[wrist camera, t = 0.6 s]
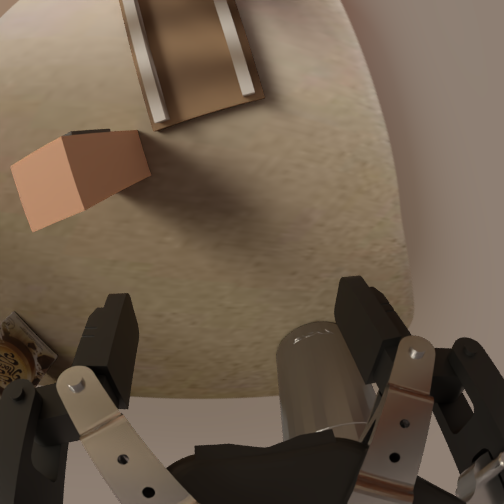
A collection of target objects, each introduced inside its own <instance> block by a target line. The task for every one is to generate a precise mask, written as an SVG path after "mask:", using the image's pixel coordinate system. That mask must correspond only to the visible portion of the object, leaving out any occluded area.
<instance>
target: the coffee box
mask: <svg viewBox="0 0 504 504" xmlns="http://www.w3.org/2000/svg"><path fill="white" fill-rule="evenodd" d="M56 358H57V355H56V354H55V353H54V352H53V351H52V350H51V349H50V348H49V347H48V346H47V345H46V344H45V343H44V342H43V341H42V340H41V339H40V338H39V337H38V336H37V335H36V334H35V333H34V332H33V331H32V330H31V329H30V328H29V327H28V326H27V325H26V324H25V323H24V321H23V320H22V319H21V318H20V317H19V316H18V315H17V314H16V313H15V312H14V311H13V312H12V313H11V314H10V315H9V316H8V317H7V318H6V319H5V320H4V321H3V322H2V323H1V324H0V399H1V396H2V393H3V390H4V389H5V387H6V386H7V385H8V384H9V383H11V382H12V381H14V380H17V379H27V380H29V381H30V382H31V383H32V384H33V385H34V387H36V386H37V385H38V383H39V382H40V380H41V379H42V377H43V376H44V375H45V373H46V372H47V370H48V369H49V368H50V366H51V365H52V364H53V362H54V361H55V360H56Z"/></svg>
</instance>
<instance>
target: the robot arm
mask: <svg viewBox="0 0 504 504" xmlns="http://www.w3.org/2000/svg"><path fill="white" fill-rule="evenodd" d="M334 315H335V321H336V324H335V323H330V322H315V323H309V324H306V325H303V326H300V327H299V328H297V329H295V330H293V331H292V332H291V333H289V334H288V335H287V336H286V337H285V338H284V339H283V340H282V342H281V343H280V345H279V347H278V350H277V354H276V359H277V372H278V385H279V397H280V408H281V420H282V432H283V442H281V443H278V444H276V445H273V446H271V447H266V448H261V447H252V446H242V445H234V444H219V445H201V446H200V445H199V446H195V454H194V455H190V456H187V457H185V458H182V459H180V460H178V461H176V462H175V463H173V464H171V465H170V466H169V467H167V468H165V467H164V466H163V464H162V463H161V462H160V461H159V460H158V459H157V457H156V456H155V455H154V454H153V453H152V451H151V450H150V449H149V448H148V446H147V445H146V444H145V443H144V441H143V440H142V439H141V438H140V436H139V435H138V434H137V433H136V431H135V430H134V428H133V427H132V426H131V425H130V423H129V422H128V420H127V419H126V418H125V416H123V414H122V413H120V412H119V410H118V409H128V406H129V398H130V391H131V384H132V378H133V371H134V365H135V359H136V353H137V347H138V341H139V329H138V323H137V320H136V316H135V313H134V309H133V305H132V302H131V298H130V295H129V294H128V293H121V294H109V295H108V297H107V300H106V303H105V305H104V308H97V309H96V310H95V311H94V312H93V313H92V314H91V315H90V316H89V318H88V321H87V323H86V326H85V329H84V332H83V334H82V337H81V340H80V343H79V346H78V349H77V352H76V355H75V358H74V361H73V364H72V367H70V368H68V369H66V370H65V371H64V372H62V374H61V375H60V376H59V378H58V380H57V382H56V383H54V384H50V385H46V386H41V387H37V388H35V387H34V385H33V384H32V383H31V382H30V381H29V380H27V379H17V380H14V381H12V382H11V383H9V384H8V385H7V386H6V387H5V389H4V390H3V393H2V396H1V399H0V504H63V493H64V480H65V469H66V460H67V451H68V444H69V442H73V441H78V440H80V441H81V443H82V444H83V446H84V448H85V450H86V451H87V453H88V455H89V456H90V458H91V460H92V461H93V463H94V465H95V466H96V468H97V469H98V471H99V472H100V474H101V475H102V477H103V479H104V480H105V481H106V483H107V484H108V486H109V487H110V489H111V490H112V492H113V493H114V495H115V496H116V497H117V498H118V500H119V501H120V503H121V504H504V379H503V377H502V376H501V374H500V372H499V371H498V369H497V368H496V366H495V365H494V363H493V362H492V360H491V359H490V357H489V356H488V354H487V353H486V352H485V350H484V349H483V347H482V346H481V345H480V344H479V343H478V342H477V341H475V340H473V339H471V338H459V339H458V340H456V341H455V343H454V345H453V347H452V349H449V348H434V347H433V345H432V344H431V343H430V342H429V341H428V340H426V339H425V338H422V337H419V336H412V335H411V334H410V332H409V331H408V329H407V328H406V326H405V325H404V323H403V322H402V320H401V319H400V317H399V316H398V314H397V313H396V312H395V311H394V309H393V307H392V306H391V304H389V302H388V300H387V299H386V297H385V296H384V295H383V293H381V292H380V291H378V290H377V289H376V288H374V287H369V286H368V285H367V284H366V282H365V281H364V279H363V278H362V277H361V276H349V277H342V278H341V279H340V282H339V287H338V293H337V298H336V303H335V309H334ZM371 383H376V384H377V386H378V388H379V391H378V393H377V395H376V394H375V392H374V389H373V386H372V384H371ZM464 389H465V390H466V392H467V394H468V396H469V398H470V399H471V401H472V403H473V406H474V413H473V411H472V409H471V408H470V406H469V404H468V402H467V400H466V398H465V397H464V395H463V393H462V392H463V390H464ZM432 411H433V413H434V415H435V417H436V420H437V422H438V424H439V426H440V428H441V431H442V433H443V435H444V437H445V440H446V442H447V444H448V447H449V449H450V451H451V453H452V456H453V458H454V461H455V463H456V466H457V468H458V470H459V473H460V477H459V479H458V483H457V489H456V496H457V497H456V496H454V495H453V494H451V493H449V492H447V491H445V490H443V489H441V488H439V487H437V486H436V485H434V484H432V483H430V482H428V481H426V480H424V479H423V478H421V477H419V476H418V475H417V474H418V470H419V467H420V463H421V459H422V456H423V452H424V447H425V443H426V439H427V435H428V430H429V425H430V420H431V415H432Z"/></svg>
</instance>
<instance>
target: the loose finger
mask: <svg viewBox="0 0 504 504" xmlns="http://www.w3.org/2000/svg"><path fill="white" fill-rule="evenodd" d="M10 167H11V170H12V173H13V177H14V180H15V183H16V187H17V190H18V193H19V196H20V199H21V202H22V205H23V208H24V211H25V213H26V216H27V219H28V222H29V224H30V227H31V230H32V232H35V231H37V230H39V229H42V228H44V227H46V226H48V225H51V224H53V223H55V222H58V221H60V220H63V219H65V218H67V217H70V216H72V215H75V214H77V213H80V212H82V211H85V210H87V209H88V208H90V207H92V206H94V205H95V204H97V203H99V202H101V201H103V200H104V199H106V198H108V197H110V196H112V195H114V194H116V193H118V192H119V191H121V190H123V189H125V188H127V187H129V186H131V185H133V184H135V183H137V182H139V181H141V180H143V179H145V178H147V177H149V176H151V173H150V170H149V167H148V163H147V160H146V157H145V154H144V151H143V147H142V144H141V141H140V137H139V134H138V131H137V130H131V131H114V132H110V129H98V130H84V131H71V132H69V133H67V134H65V135H63V136H61V137H59V138H57V139H55V140H54V141H52V142H50V143H48V144H47V145H45V146H43V147H41V148H40V149H38V150H36V151H34V152H33V153H31V154H29V155H28V156H26V157H25V158H23V159H21V160H20V161H18V162H17V163H15V164H13V165H12V166H10Z"/></svg>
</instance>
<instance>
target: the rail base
mask: <svg viewBox="0 0 504 504" xmlns="http://www.w3.org/2000/svg"><path fill="white" fill-rule="evenodd" d="M119 2H120V7H121V11H122V16H123V20H124V24H125V28H126V32H127V37H128V41H129V45H130V49H131V52H132V56H133V60H134V64H135V68H136V72H137V75H138V79H139V83H140V86H141V90H142V94H143V97H144V101H145V104H146V108H147V111H148V115H149V118H150V122H151V125H152V128H153V131H158V130H161V129H164V128H167V127H170V126H173V125H175V124H178V123H181V122H184V121H187V120H190V119H193V118H197V117H200V116H203V115H206V114H209V113H213V112H216V111H219V110H223V109H226V108H230V107H234V106H237V105H241V104H245V103H248V102H252V101H256V100H260V99H264V98H265V96H264V92H263V89H262V85H261V82H260V79H259V75H258V72H257V69H256V65H255V62H254V59H253V56H252V52H251V49H250V46H249V43H248V40H247V36H246V33H245V30H244V27H243V24H242V21H241V18H240V15H239V12H238V9H237V6H236V3H235V0H119Z"/></svg>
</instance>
